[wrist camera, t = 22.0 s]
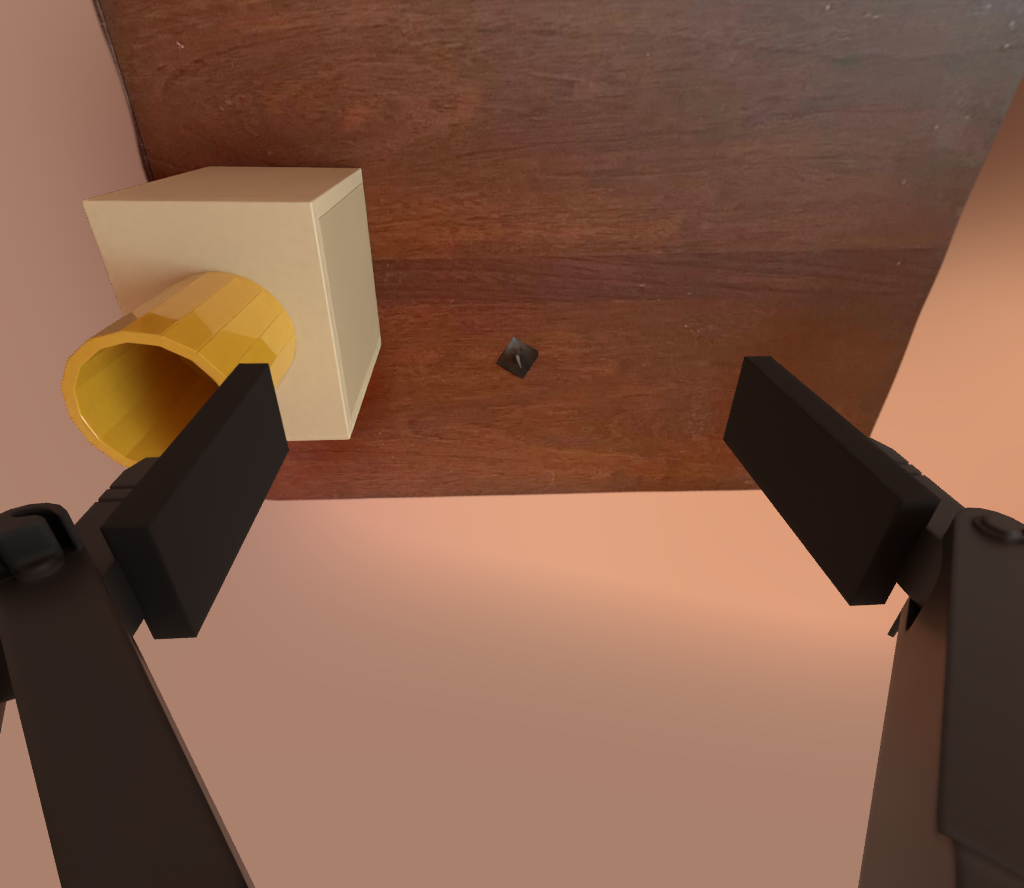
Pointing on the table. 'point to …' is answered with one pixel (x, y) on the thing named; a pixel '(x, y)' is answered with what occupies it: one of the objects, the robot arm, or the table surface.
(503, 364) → the dark square tile
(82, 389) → the cup
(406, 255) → the table surface
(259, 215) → the shelf
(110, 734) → the robot arm
